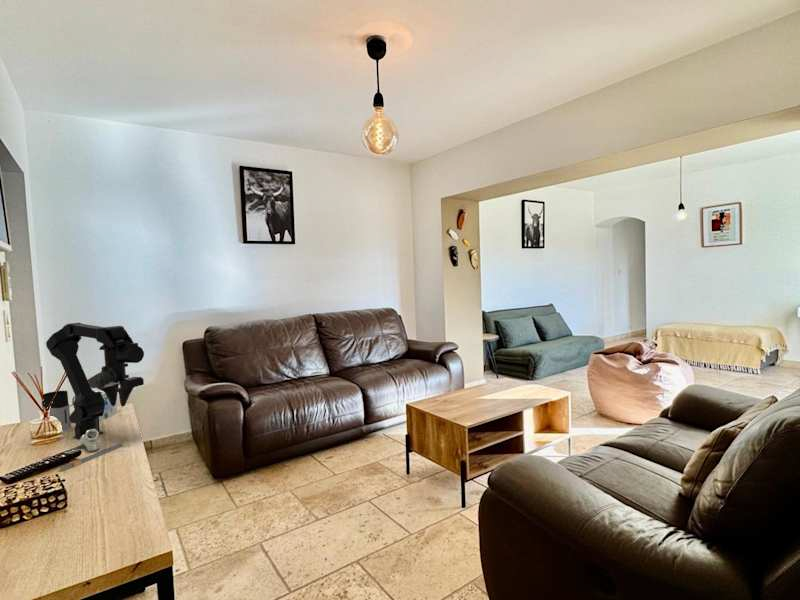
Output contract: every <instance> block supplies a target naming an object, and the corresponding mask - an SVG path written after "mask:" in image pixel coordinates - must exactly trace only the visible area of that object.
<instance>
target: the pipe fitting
mask: <svg viewBox="0 0 800 600" xmlns="http://www.w3.org/2000/svg"><path fill="white" fill-rule="evenodd" d="M98 434H99V432H98V431H97V430H96V429H91V430H88V431H86V433H85V435H82V436H81V439H79V443H80V445H83V446H86V447H85V448H86V449H87V450H88V452H95V451H97V450H98V449H100V446H101V445H100V442H99V441H98V440H97V439H98V437H99V435H100V434H99V435H98ZM88 436H89V437H90V438H88Z"/></svg>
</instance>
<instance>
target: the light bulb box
mask: <svg viewBox="0 0 800 600" xmlns="http://www.w3.org/2000/svg"><path fill="white" fill-rule="evenodd" d="M94 391H95V390H94ZM95 392H100V393H101V394H102V397H103V399H104V400H105V401H104V403H105V409H104V413H103V416H100V417H99V422H101V421H100V420H102V419H104V420H106V419H108V418H110V417H109V416H111V417H112V415H113V416H114V414H115V415H117V414H118V408H117V407H118V406H117V403H116V404H115V405H114V406H112V405H111V403H110V401H109V399H108V397H107V396H106V394H105V392H104V391H102V390H100V389H97V390H96V391H95ZM116 413H117V414H116ZM107 417H108V418H107ZM105 418H106V419H105ZM102 421H103V420H102Z"/></svg>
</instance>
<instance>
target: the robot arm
mask: <svg viewBox="0 0 800 600" xmlns="http://www.w3.org/2000/svg"><path fill="white" fill-rule="evenodd" d="M82 337H84V338H90V339H95V340H96V342H98V343H101V344H102V345H101V346H100V347H99V350H100V351H103V353H104V354H103V355H104V365H103V366H102V367H101V371H100V372H98V373H96V374H95V375H93V376H91V377H90V378H87V376H86V373H85V371H84V369H83V366H82V364H81V362H80V360H79V358H78V357H79V356H78V350H79V344H78V343H79V342H80V341H81V339H82ZM45 346H46V348H47V350H48V351H49V353H50V355H51V356H52V357H53V358H56V359H57V360H58V361H59V362H60V364H61V366H62V368H63V370H64V373H65V376H66V377H67V380H68V383H69V384H70V386H71V389H72V392H73V394H74V396H76V397H75V398H74V404H73V409H74V410H73V411H72V412H71V413H70V417H69V419H70V422H71V424H75V426H74V435H75V436H73V439H78V440H80V439H81V436H82V435H85V433H86V431H88V430H91V429H96V430H97V431H98V432H99V434H98V436H99V435H101V434H104V431H102V430H101V428H100V426H101V425H100V421H99V417H100V416H103V413H104V409H105V403H104V401H105V400H104V399H103V397H102V394H101V393H100V392H95V390H93V389H97V390H102V391H104V392H105V394H106V396H107V397H108V399H109V401H110V403H111V405H112V406H114V405H115V404H117V398H118V397H119V402H120V407H122V408H123V407H125V406H126V405H127V404H126V403H127V402H128V399H129V397H130V396H131V393H132V391H133V390H134V388H137V387H141V386H144V385H145V383H144V382H145V381H144V378H143V377H142V376H132V377H131V376H130V375H129V374H126V373H127V372H126V368H127V367H129V363H130V364H138V363H140V362H141V361H142V360H143V358H144V355H145V351H144V349H143V348H142V347H140V346H139V344H138V342H134V341H133V339H132V338H131V336H130V335H129V333H128V331H127V330H126V329H125V327H124V326H122V325H113V326H99V325H92V324H86V323H81V322H73V323H67V324H65V325H63V327H62V328H61V329H59V330H58V331H55V332H54V333H52V334H51V336H50V337H49V338H48V339H47V341H46V343H45ZM88 438H90V437H89V436H88ZM90 439H91V438H90Z"/></svg>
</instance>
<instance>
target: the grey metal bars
mask: <svg viewBox="0 0 800 600" xmlns="http://www.w3.org/2000/svg"><path fill="white" fill-rule="evenodd" d="M123 446H124V443H123V442H119V443H117V444H114V445H112V446H109V447H107V448H104V449H101V450H100V451H97V452H95V453H92V454H91V455H88V456H85V457H83V458H81V459H75V460H72V461H69V464H67V465H65V466H62V467H59V472H65V471H67V470H70V469H72V468H76V467H77V466H80V465H82V464H83V463H87V462H89V461H91V460H93V459H96V458H99V457H100V456H102V455H105V454H108V453H110V452H113V451H115V450H117V449H119V448H122V447H123ZM85 448H86V446H83V445H82V444H80V445H77V446H76V447H73V448H70V449H67V450H65V451H63V452H69V451H72V450H76V449H80V450H82V449H85ZM63 452H61V453H63ZM58 454H59V453H57V454H55V455H52V456H51V455H47V456H45V457H43V458H41V460H39V461H36V462H35V463H32V464H31V465H33V464H36V463H39V462H41V461H44V460H47V459H49V458H51V457H53V456H56V455H58Z"/></svg>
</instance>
